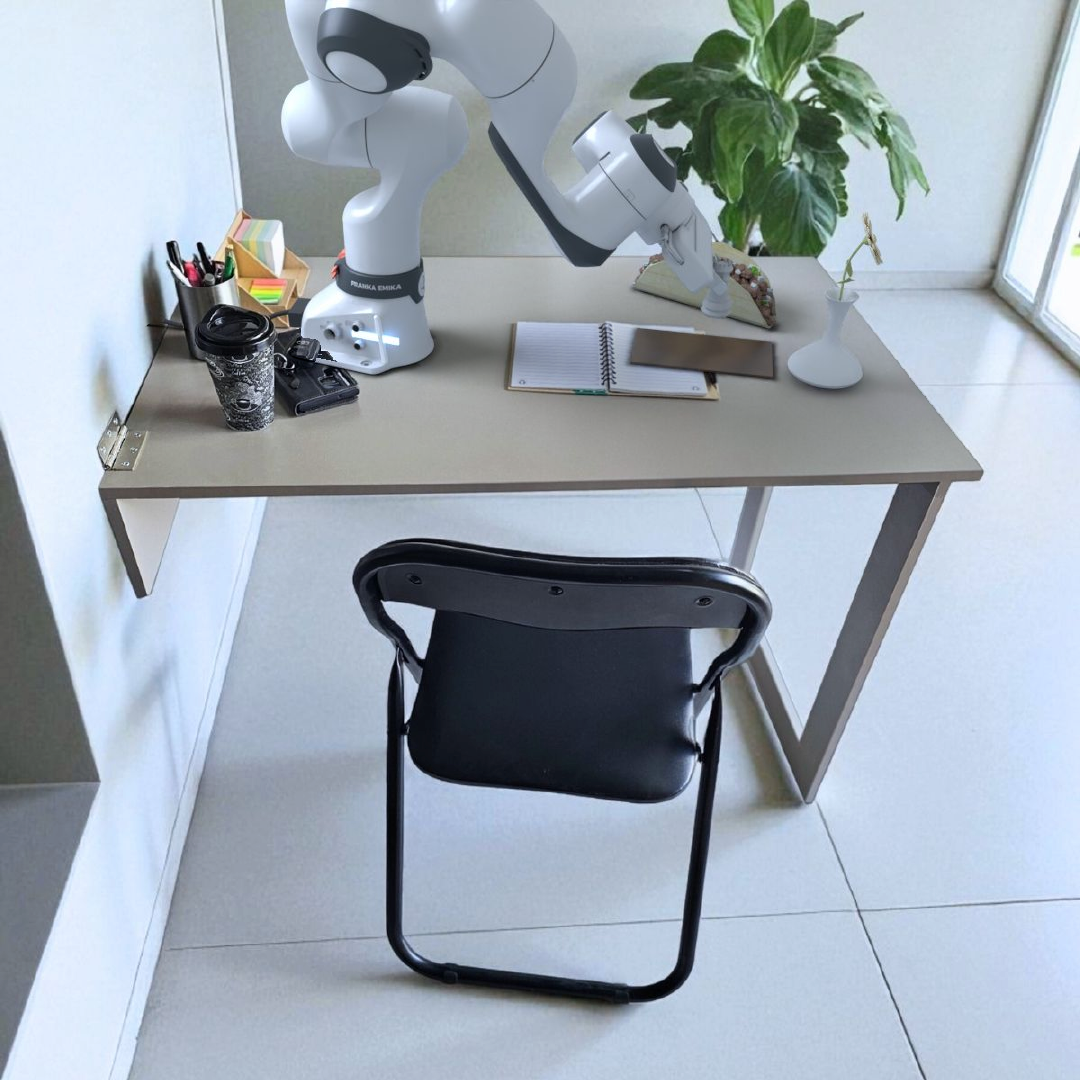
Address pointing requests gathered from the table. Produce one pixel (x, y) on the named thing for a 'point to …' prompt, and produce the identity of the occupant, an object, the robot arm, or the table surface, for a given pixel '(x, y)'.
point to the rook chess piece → (714, 303)
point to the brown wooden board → (703, 353)
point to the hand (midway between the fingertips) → (723, 285)
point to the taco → (744, 287)
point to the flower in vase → (834, 334)
